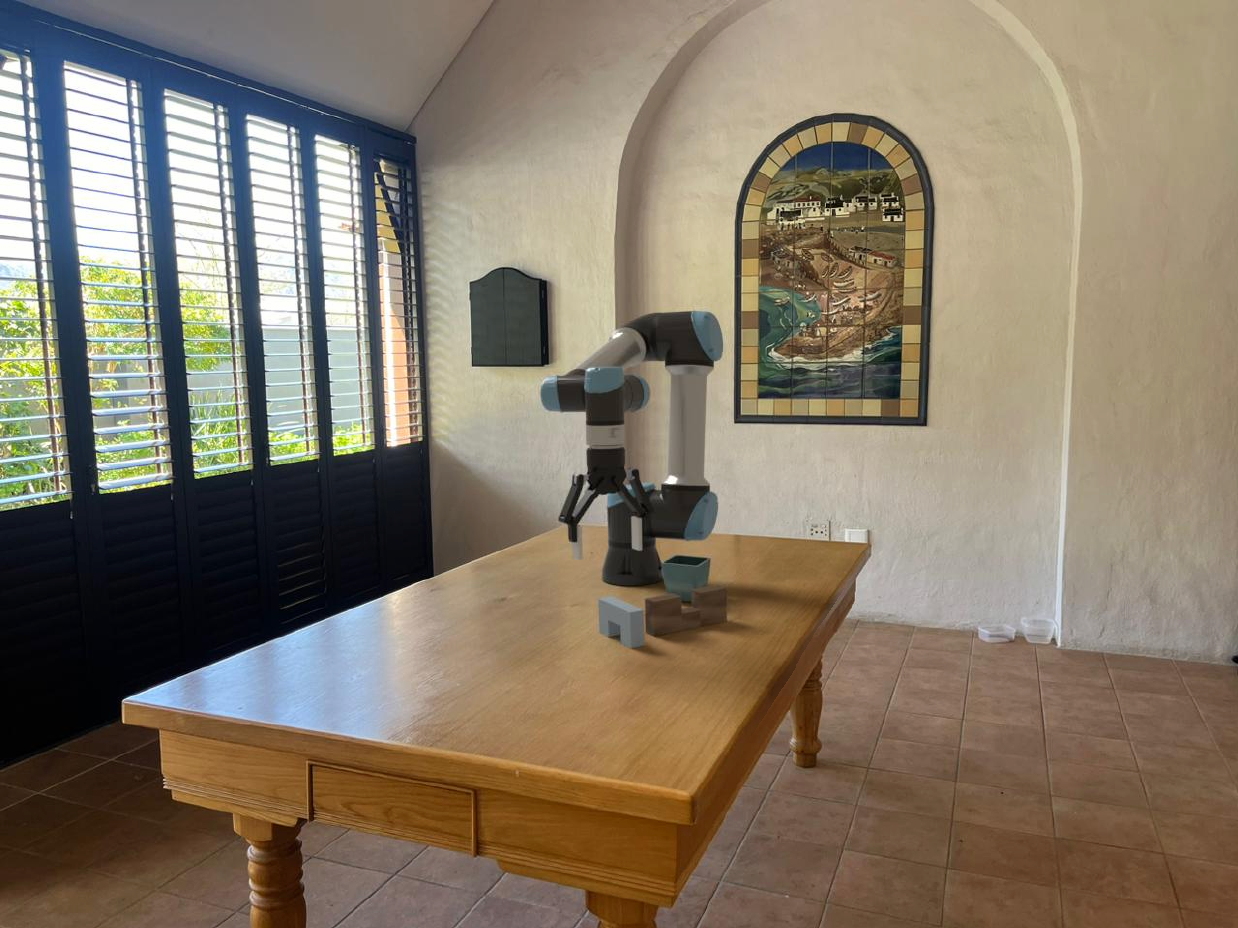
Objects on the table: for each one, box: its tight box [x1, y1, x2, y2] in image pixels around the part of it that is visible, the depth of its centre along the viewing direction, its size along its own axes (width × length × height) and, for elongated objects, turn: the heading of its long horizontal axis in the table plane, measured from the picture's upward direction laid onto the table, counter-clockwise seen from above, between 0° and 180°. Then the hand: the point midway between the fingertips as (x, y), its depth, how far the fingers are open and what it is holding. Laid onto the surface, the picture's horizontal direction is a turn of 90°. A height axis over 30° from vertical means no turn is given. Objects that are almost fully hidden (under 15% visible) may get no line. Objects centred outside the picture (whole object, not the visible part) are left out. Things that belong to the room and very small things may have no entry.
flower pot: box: [661, 554, 712, 603], centre depth 210 cm, size 9×9×9 cm
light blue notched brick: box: [597, 595, 645, 649], centre depth 183 cm, size 12×3×7 cm, turn 31°
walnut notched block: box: [644, 584, 728, 637], centre depth 190 cm, size 3×18×7 cm, turn 121°
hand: (607, 553), depth 185 cm, fingers open, 13 cm apart
